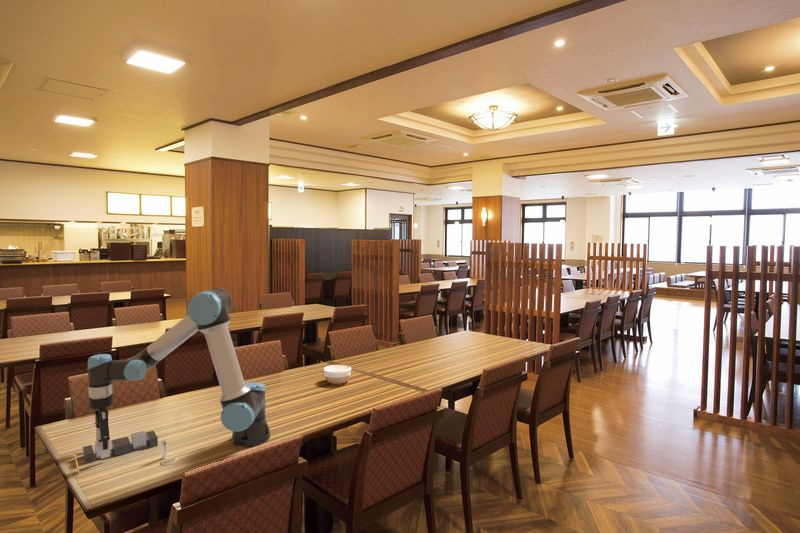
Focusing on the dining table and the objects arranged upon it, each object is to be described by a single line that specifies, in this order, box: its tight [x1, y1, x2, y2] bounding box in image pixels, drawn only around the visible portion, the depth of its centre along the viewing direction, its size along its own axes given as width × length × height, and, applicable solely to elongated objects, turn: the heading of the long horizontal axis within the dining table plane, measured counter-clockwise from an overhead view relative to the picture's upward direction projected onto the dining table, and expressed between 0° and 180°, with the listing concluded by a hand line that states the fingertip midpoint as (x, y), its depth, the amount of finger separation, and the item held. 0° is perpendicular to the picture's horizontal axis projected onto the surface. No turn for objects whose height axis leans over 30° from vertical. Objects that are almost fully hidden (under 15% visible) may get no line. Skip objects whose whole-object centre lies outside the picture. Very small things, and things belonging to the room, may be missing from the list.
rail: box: [82, 430, 159, 465], centre depth 180 cm, size 8×24×4 cm, turn 129°
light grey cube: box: [130, 430, 146, 450], centre depth 183 cm, size 4×4×5 cm
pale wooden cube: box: [94, 440, 112, 459], centre depth 176 cm, size 4×4×5 cm
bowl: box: [323, 364, 352, 385], centre depth 269 cm, size 16×16×8 cm
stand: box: [159, 439, 176, 466], centre depth 173 cm, size 8×5×8 cm
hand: (102, 450), depth 176 cm, fingers open, 13 cm apart
